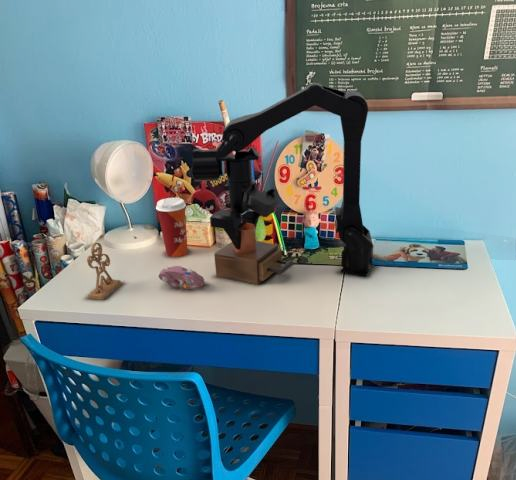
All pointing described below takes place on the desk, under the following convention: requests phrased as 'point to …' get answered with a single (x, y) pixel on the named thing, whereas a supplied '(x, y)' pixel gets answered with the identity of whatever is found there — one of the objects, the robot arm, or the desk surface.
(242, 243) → the cup
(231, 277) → the cabinet
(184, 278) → the purple toy car
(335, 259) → the desk surface
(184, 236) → the paper cup
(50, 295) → the desk surface
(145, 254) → the desk surface
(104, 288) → the wooden figurine
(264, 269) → the drawer
